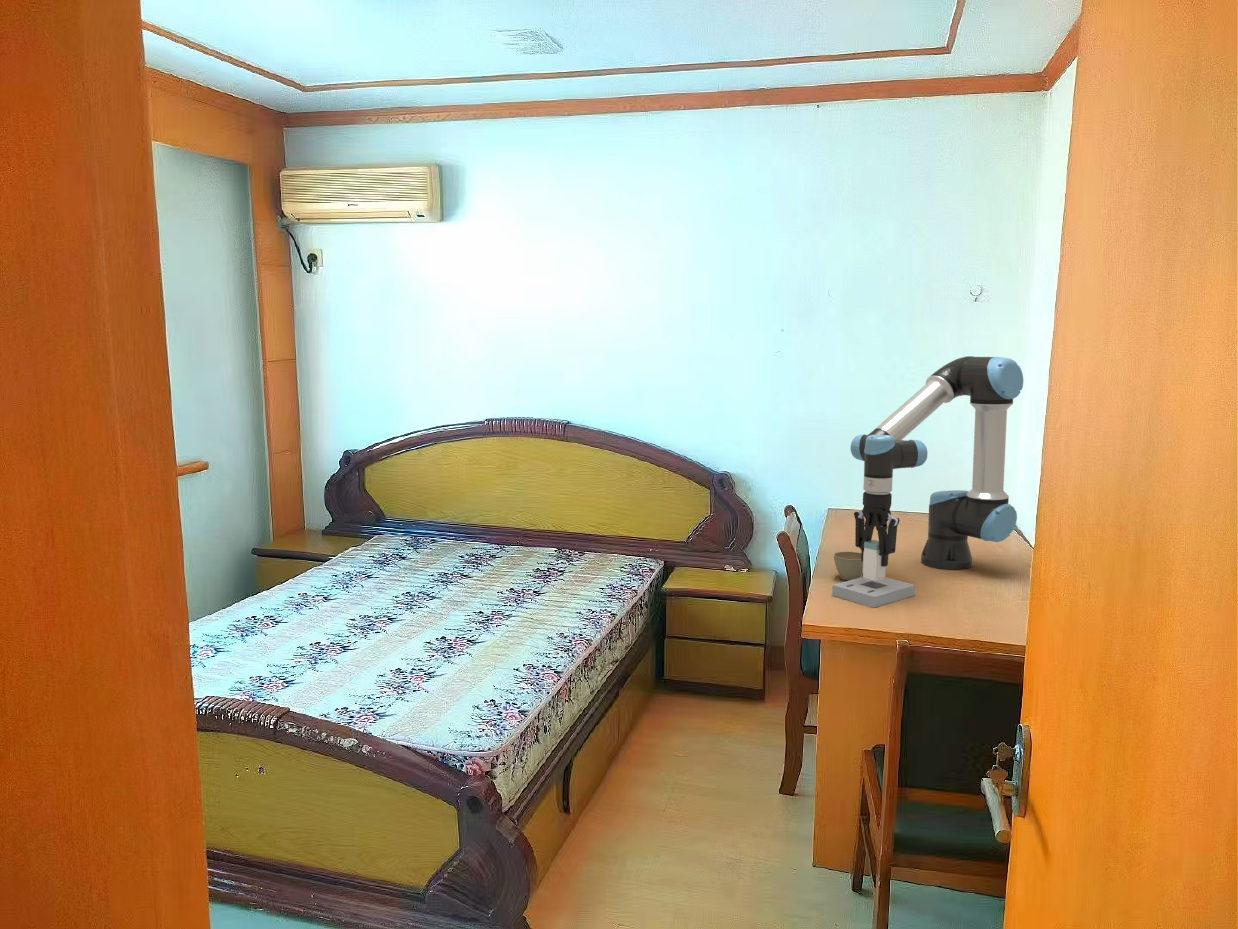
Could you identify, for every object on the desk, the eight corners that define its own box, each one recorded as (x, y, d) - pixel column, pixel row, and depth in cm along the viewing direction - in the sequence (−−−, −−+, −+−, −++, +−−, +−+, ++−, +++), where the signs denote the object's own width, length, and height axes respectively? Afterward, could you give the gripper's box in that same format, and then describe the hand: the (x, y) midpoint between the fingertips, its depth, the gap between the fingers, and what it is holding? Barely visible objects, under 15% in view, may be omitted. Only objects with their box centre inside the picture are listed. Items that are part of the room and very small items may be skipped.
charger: (872, 574, 248) (873, 539, 247) (884, 578, 245) (886, 542, 243) (862, 577, 246) (864, 541, 244) (875, 580, 242) (876, 544, 241)
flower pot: (866, 584, 257) (867, 560, 255) (831, 581, 260) (831, 557, 259) (869, 576, 266) (870, 552, 265) (835, 573, 269) (835, 549, 268)
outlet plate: (872, 584, 257) (873, 573, 257) (914, 595, 246) (915, 584, 246) (832, 595, 246) (832, 584, 246) (874, 607, 235) (874, 596, 235)
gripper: (843, 489, 246) (840, 571, 250) (895, 498, 233) (891, 584, 236) (860, 486, 251) (857, 567, 254) (912, 495, 237) (908, 580, 241)
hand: (873, 575), depth 245 cm, fingers closed on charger, 4 cm apart
